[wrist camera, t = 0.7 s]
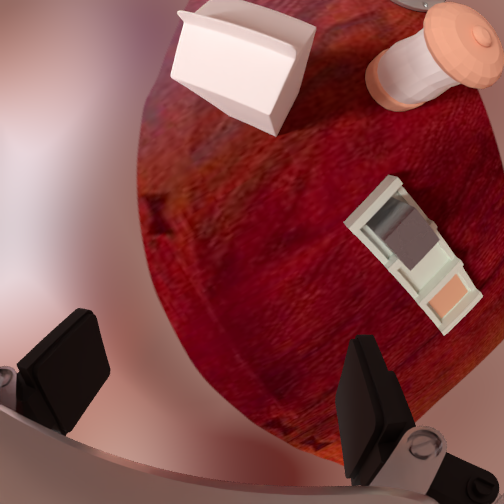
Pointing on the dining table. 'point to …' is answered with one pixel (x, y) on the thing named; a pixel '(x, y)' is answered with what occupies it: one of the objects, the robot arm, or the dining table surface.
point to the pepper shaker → (437, 59)
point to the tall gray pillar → (403, 231)
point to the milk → (244, 60)
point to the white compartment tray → (427, 270)
